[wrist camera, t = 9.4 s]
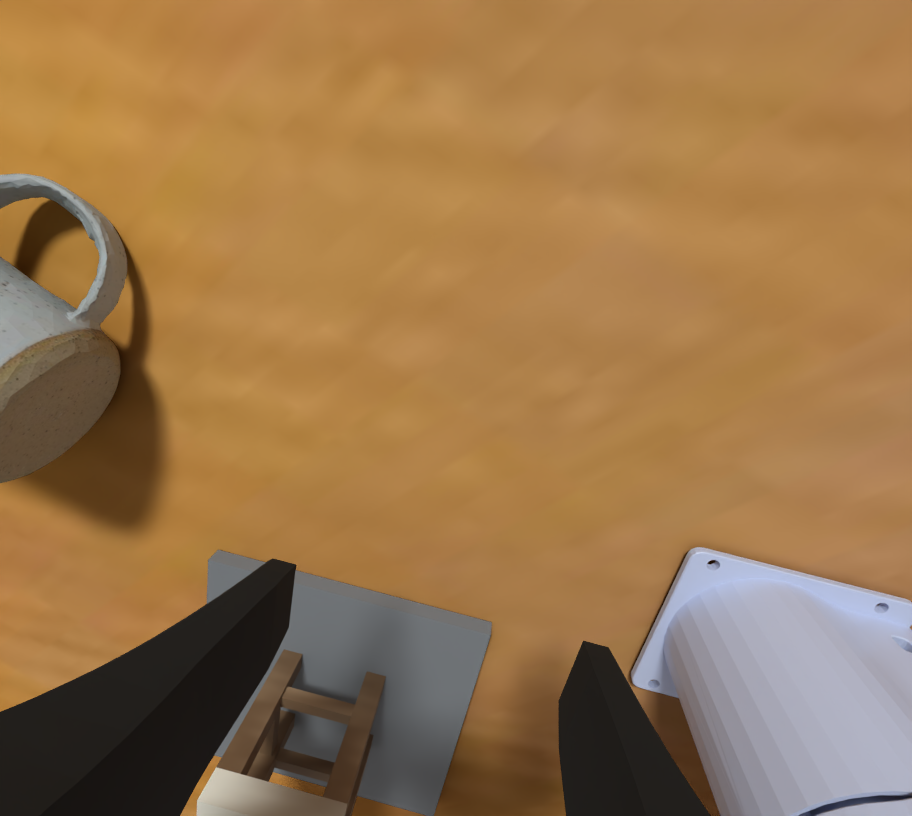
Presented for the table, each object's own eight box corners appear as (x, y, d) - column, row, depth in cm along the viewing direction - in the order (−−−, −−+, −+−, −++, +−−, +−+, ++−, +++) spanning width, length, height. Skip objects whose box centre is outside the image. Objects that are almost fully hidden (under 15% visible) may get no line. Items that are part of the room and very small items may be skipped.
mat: (491, 622, 23) (490, 635, 22) (435, 801, 28) (433, 817, 27) (218, 549, 24) (208, 559, 23) (210, 738, 28) (201, 751, 28)
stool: (385, 676, 24) (336, 840, 17) (371, 747, 26) (321, 919, 19) (283, 649, 24) (197, 800, 18) (276, 721, 26) (195, 882, 20)
